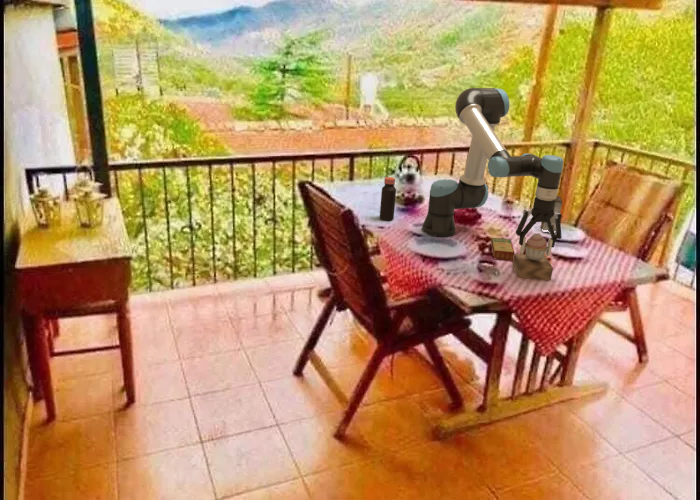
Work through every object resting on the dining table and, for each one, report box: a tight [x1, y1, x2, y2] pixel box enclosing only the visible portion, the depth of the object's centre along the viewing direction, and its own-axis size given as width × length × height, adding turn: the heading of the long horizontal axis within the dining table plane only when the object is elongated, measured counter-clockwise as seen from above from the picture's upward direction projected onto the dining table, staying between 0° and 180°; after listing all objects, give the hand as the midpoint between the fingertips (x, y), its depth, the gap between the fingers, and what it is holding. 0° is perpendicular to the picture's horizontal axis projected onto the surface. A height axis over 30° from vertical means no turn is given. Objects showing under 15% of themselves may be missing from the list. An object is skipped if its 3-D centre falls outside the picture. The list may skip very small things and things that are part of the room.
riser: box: [512, 253, 554, 281], centre depth 220 cm, size 12×12×5 cm
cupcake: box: [524, 233, 549, 260], centre depth 216 cm, size 9×9×10 cm
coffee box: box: [540, 195, 563, 231], centre depth 266 cm, size 9×6×16 cm
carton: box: [490, 237, 516, 262], centre depth 238 cm, size 8×16×4 cm, turn 171°
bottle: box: [379, 176, 397, 222], centre depth 267 cm, size 7×7×20 cm
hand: (534, 253), depth 218 cm, fingers closed on cupcake, 9 cm apart
